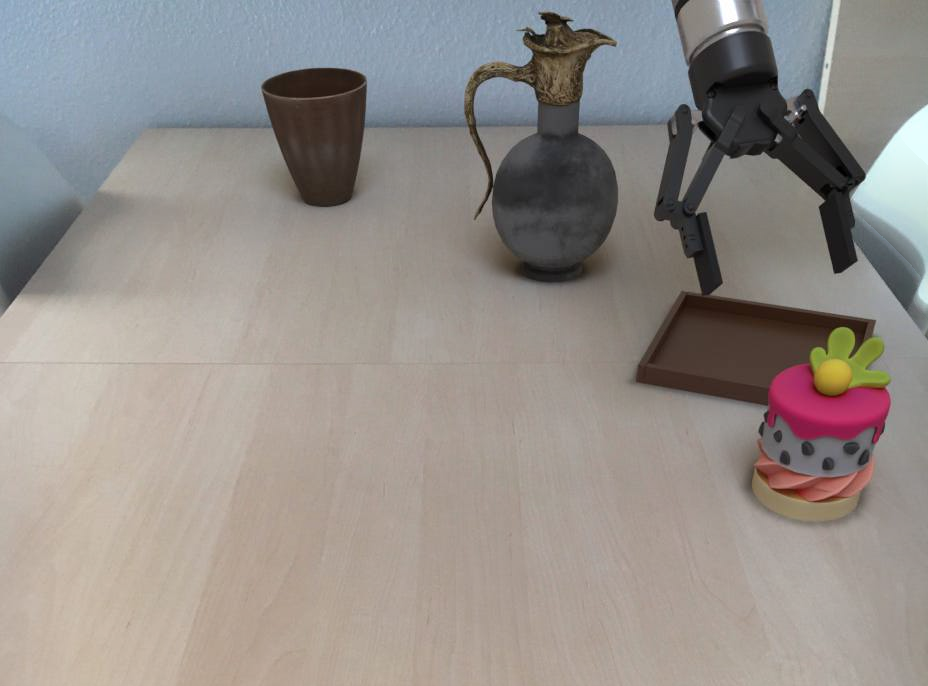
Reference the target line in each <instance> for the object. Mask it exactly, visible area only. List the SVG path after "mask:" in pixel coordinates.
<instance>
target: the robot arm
mask: <svg viewBox="0 0 928 686" xmlns="http://www.w3.org/2000/svg"><path fill="white" fill-rule="evenodd" d="M670 2H671V5H672V9H673V13H674V19H675V22H676V26H677V27H676V28H677V32H678V35H679V40H680V43H681V49H682V53H683V57H684V61H685V64H686V66H687V67H688V70H687V76H688V81H689V85H690V89H691V93H692V98H693V103H694V105H695V108H696V109H691V107H690V106H689V105H688V104H686V103H681V104H680V105H679V106H678V107H677V109H676V110H675V111H674V113H673V114H672V116H671V117H670V118H669V119H668V121H667V125H666V126H667V134H668V142H669V144H668V148H667V153H666V157H665V162H664V167H663V171H662V176H661V180H660V184H659V188H658V193H657V197H656V202H655V207H654V209H653V211H654V212H653V216H654V217H653V218H654V219H655V221H657V222H659V223H660V222H664V221H668V222H669V224H670V227H671V228H672V229H673V230H675V231H676V230H678V233H679V237H680V241H681V246H682V250H683V254H684V256H685V257H686V259H692V258H693V262H694V268H695V271H696V275H697V279H698V284H699V289H700V291H701V293H700V294H702V296H705V295H712V293H714V292H715V291H716V290H717V289H718V288H719V287H721V286H722V285H723V283H724V282H723V277H722V271H721V268H720V264H719V263H720V262H719V259H718V255H717V251H716V246H715V242H714V239H713V238H714V237H713V234H712V229H711V224H710V221H709V216H708V212H707V211H703V212H702V211H701V212H698V213H697V214H696V212H697V211H698V209H699V206H700V205H701V203H702V201H703V199H704V198H705V194H706V192H707V190H708V189H709V186H710V185H711V182H712V181H713V179H714V177H715V175H716V172H717V171H718V169H719V167H720V165H721V163H722V161H723V159H724V156H727V157H729V160H733V159H738V158H741V157H743V156H751V157H755V156H761V155H762V154H763V153H764V154H766V155H767V156H768V157H769V158H770V159H773V160H779V161H780V163H782V164H783V165H784V166H785V167H786V168H787V169H788V170H790V171H791V172H792V173H793V174H794V175H795V176H797V177H798V178H799V179H800V180H801V181H802V182H803V183H805V184H806V185H807V186H808V187H809V188H810V189H812V191H814V192H815V194H817V195H818V196H819V197H821V199H823V200H824V201H822V203H821V204H820V205H819V206H818V212H819V215H820V220H821V224H822V228H823V232H824V237H825V241H826V246H827V250H828V255H829V259H830V262H831V266H832V271H833V274H834V275H836V274H837V275H839V274H842V273H844V272H845V271H846V270H848V269H849V268H851V267H852V266H853V265H854V264H856V263H857V262H858V261H859V259H858V254H857V251H856V247H855V242H854V239H853V238H854V237H853V234H852V230H853V229H854V228H855V226H856V218H855V215H854V210H853V206H852V205H853V204H852V201H851V197H850V193H851V192H853V190H854V189H856V188H857V187H858V186H859V185H861V184H862V183H863V182H864V181H865V180H866V178H867V174H866V172H865V170H864V169H863V168H862V166H861V165H860V164H859V162H858V161H857V159H856V158H855V157H854V155H853V154H852V152H851V151H850V150H849V148H848V147H847V146H846V145H845V143H844V141H843V140H842V139H841V138H840V136H839V135H838V134H837V132H836V131H835V129H834V128H833V126H832V125H831V124H830V122H829V121H828V120H827V118H826V117H825V115H824V114H823V113H822V111H821V109H820V107H819V104H818V102H817V98H816V95H815V93H814V90H812V89H810V88H805V89H803V90H802V91H801V93H800V94H799V95H797V96H794V97H790V98H785V97H784V96H783V95H782V94H781V92H780V89H779V69H778V66H777V65H778V64H777V60H776V56H775V51H774V48H773V44H772V40H771V38H770V37H769V36H768V34H769V24H768V19H767V17H766V13H765V9H764V4H763V1H762V0H670ZM785 117H786V118H788V119H786V118H785ZM697 128H698V129H699V132H701V133H702V134H703V135H704V136H705V137H706V138H707V139H708V140H709V141H710V142H709V144H708V146H707V148H706V150H705V152H704V154H703V156H702V158H701V162H700V164H699V166H698V168H697V170H696V172H695V174H694V176H693V178H692V180H691V182H690V183H689V186H688V187H687V189H686V192H685V194H684V196H683V198H682V199H681V200H679V196H680V193H681V188H682V183H683V178H684V174H685V170H686V166H687V161H688V157H689V152H690V147H691V144H692V139H693V135H694V134H695V132H696V131H697ZM778 135H779V136H780V137H781V138H780V140H779V141H776V139H777V137H778Z"/></svg>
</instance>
